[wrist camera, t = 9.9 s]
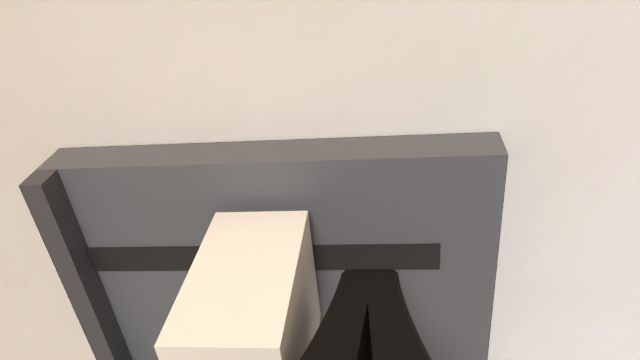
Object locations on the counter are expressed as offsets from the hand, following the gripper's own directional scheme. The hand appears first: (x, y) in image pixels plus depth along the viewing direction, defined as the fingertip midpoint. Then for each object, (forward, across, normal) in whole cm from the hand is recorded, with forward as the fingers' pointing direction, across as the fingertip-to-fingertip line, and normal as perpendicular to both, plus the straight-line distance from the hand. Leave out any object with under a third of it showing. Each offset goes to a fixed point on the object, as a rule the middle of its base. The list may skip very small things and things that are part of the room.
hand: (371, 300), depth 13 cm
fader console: (+3, +3, +4) cm, 6 cm away
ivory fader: (+1, +3, 0) cm, 3 cm away
